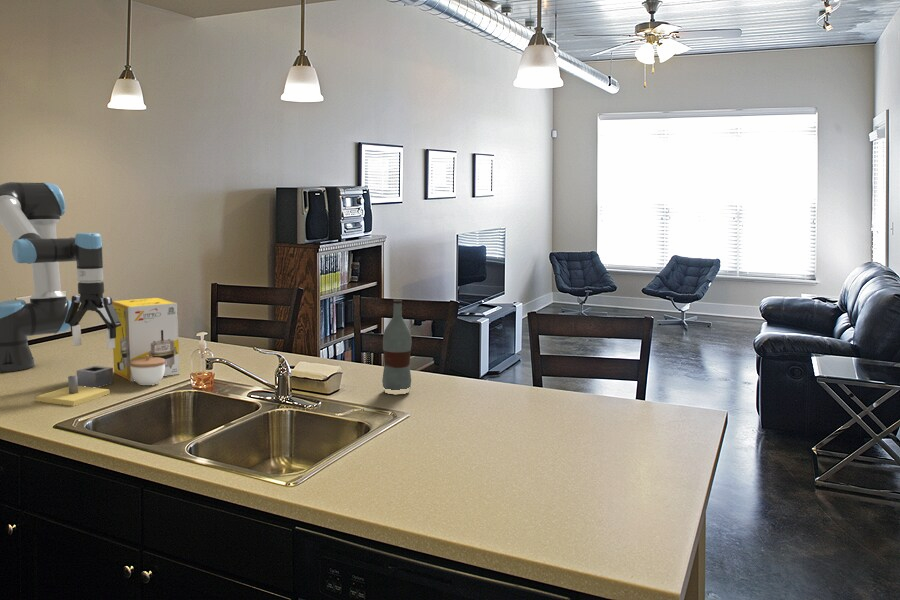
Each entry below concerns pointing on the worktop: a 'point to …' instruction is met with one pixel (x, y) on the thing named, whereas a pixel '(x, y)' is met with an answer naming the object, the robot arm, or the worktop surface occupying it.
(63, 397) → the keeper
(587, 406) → the worktop surface
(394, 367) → the bottle
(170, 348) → the packaging box
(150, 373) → the lidded jar
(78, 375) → the grey square hollow block
